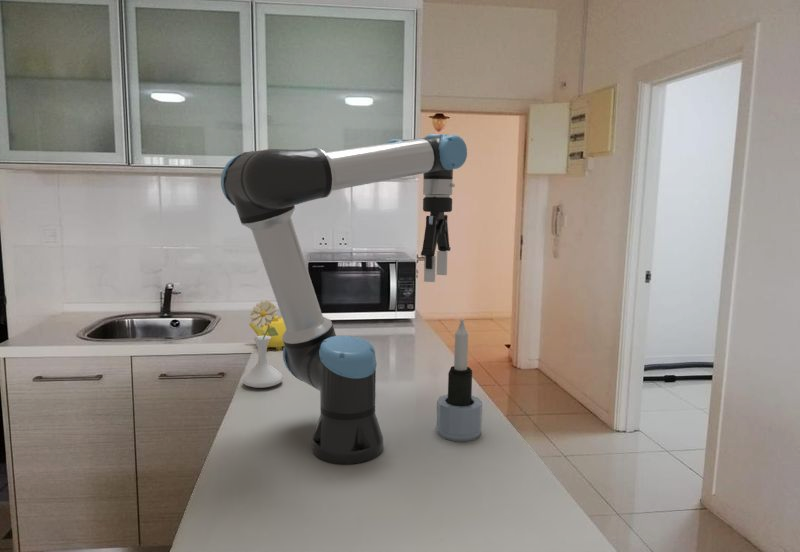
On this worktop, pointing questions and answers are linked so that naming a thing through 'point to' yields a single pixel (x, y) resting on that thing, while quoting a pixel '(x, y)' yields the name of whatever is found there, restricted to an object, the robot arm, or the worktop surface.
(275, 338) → the teapot
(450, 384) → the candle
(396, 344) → the worktop surface
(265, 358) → the flower in vase
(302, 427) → the worktop surface
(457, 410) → the pale blue faceted cup
